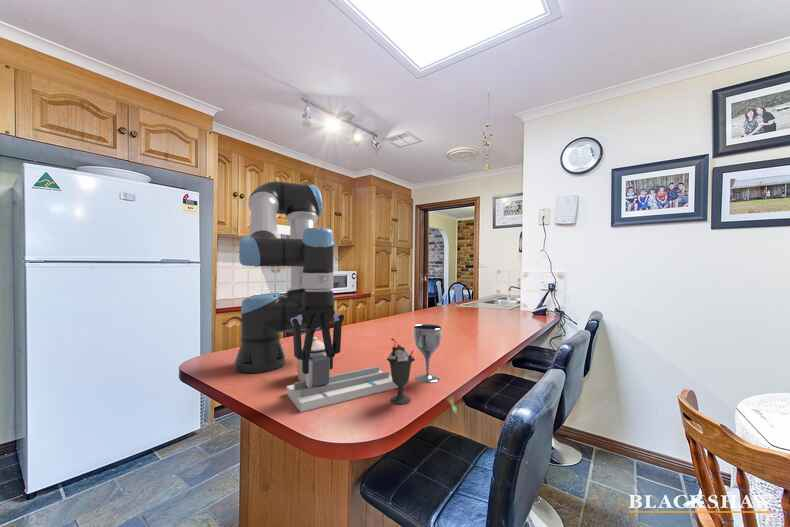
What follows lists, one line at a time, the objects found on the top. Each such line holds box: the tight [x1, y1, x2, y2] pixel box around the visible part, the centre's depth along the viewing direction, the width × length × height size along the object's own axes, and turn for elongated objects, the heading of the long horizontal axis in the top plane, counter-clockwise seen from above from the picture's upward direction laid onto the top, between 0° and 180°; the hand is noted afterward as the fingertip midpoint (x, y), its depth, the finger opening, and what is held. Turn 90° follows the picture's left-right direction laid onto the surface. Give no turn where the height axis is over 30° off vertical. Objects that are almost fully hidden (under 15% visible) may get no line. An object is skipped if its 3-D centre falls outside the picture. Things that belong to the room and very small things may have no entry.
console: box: [286, 365, 398, 413], centre depth 83 cm, size 12×26×4 cm, turn 123°
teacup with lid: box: [297, 336, 326, 381], centre depth 94 cm, size 12×9×12 cm
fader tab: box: [310, 353, 329, 387], centre depth 79 cm, size 6×4×8 cm, turn 34°
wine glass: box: [413, 323, 442, 384], centre depth 92 cm, size 8×8×15 cm
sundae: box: [386, 338, 416, 406], centre depth 77 cm, size 7×7×15 cm
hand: (317, 384), depth 79 cm, fingers closed on fader tab, 4 cm apart
